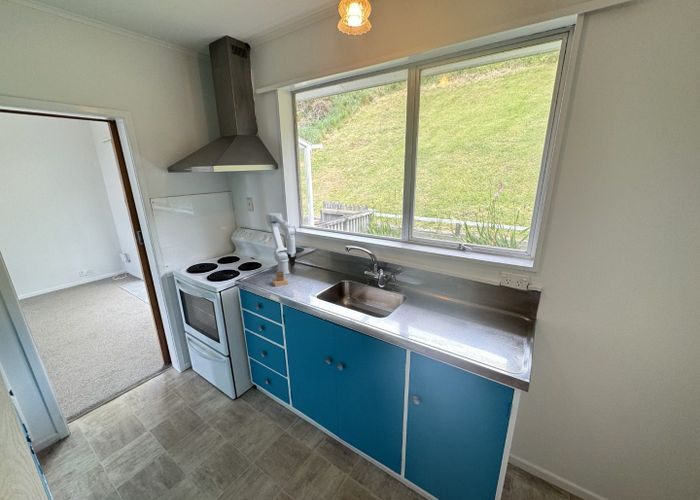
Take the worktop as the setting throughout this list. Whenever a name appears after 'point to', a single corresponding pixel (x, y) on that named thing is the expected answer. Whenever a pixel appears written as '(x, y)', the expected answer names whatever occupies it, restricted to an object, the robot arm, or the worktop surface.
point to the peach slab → (279, 282)
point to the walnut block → (279, 276)
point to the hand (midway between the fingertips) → (292, 264)
